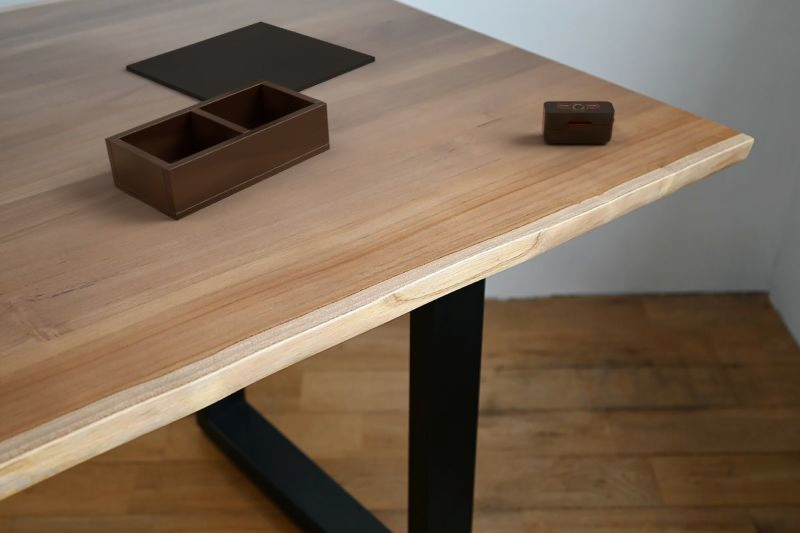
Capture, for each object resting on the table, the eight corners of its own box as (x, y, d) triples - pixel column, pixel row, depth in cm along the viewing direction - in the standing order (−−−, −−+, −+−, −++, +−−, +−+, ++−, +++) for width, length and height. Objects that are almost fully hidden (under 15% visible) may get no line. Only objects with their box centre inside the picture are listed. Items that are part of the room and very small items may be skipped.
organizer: (114, 186, 79) (104, 138, 77) (266, 122, 90) (261, 78, 88) (177, 220, 74) (167, 170, 72) (330, 148, 85) (327, 102, 82)
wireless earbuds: (620, 145, 84) (624, 113, 82) (543, 145, 84) (545, 113, 83) (613, 124, 88) (616, 93, 86) (538, 124, 88) (541, 93, 87)
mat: (126, 69, 103) (125, 65, 103) (261, 25, 115) (260, 21, 115) (238, 115, 92) (238, 111, 91) (375, 60, 104) (375, 56, 104)
